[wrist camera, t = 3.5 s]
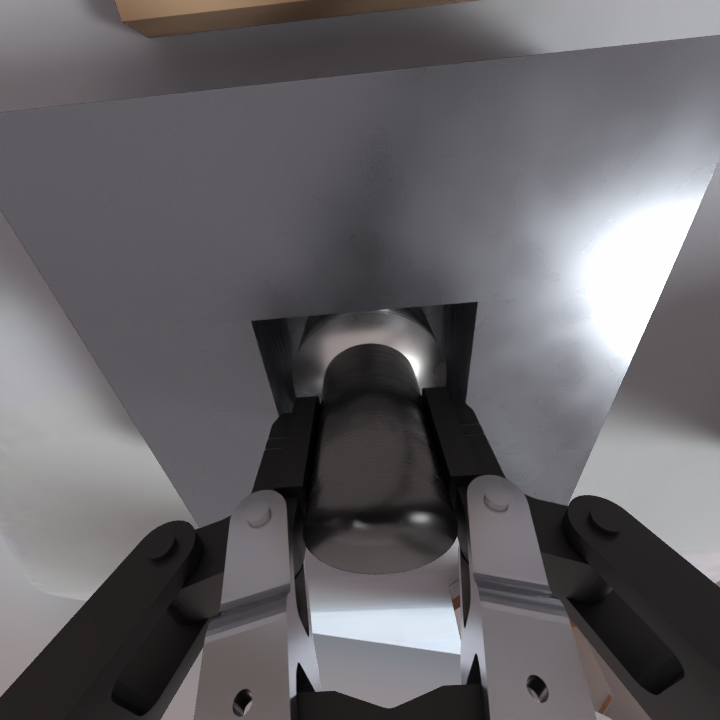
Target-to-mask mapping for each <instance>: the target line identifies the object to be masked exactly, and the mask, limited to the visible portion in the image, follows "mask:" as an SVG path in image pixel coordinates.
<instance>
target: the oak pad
mask: <svg viewBox="0 0 720 720" xmlns="http://www.w3.org/2000/svg"><path fill="white" fill-rule="evenodd" d="M467 1H476V0H115V3H116V6H117V9H118V12H119V15H120V18H121V21H122V22H123V23H125V24H127V25H128V26H130V27H132V28H134V29H135V30H137V31H139V32H140V33H142V34H144V35H145V36H147V37H149V38H150V37H159V36H168V35H177V34H185V33H194V32H203V31H212V30H221V29H229V28H238V27H247V26H256V25H265V24H274V23H282V22H291V21H300V20H309V19H318V18H326V17H335V16H344V15H353V14H362V13H370V12H379V11H388V10H397V9H406V8H415V7H423V6H432V5H441V4H450V3H459V2H467Z"/></svg>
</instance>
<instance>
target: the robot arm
mask: <svg viewBox="0 0 720 720" xmlns="http://www.w3.org/2000/svg"><path fill="white" fill-rule="evenodd" d="M422 400H423V403H424V407H425V410H426V414H427V417H428V421H429V424H430V428H431V431H432V435H433V438H434V442H435V445H436V449H437V452H438V456H439V459H440V463H441V467H442V470H443V474H444V477H445V481H446V484H447V488H448V491H449V494H450V498H451V502H452V505H453V509H454V512H455V516H456V519H457V523H458V534H457V537H458V541H459V547H458V563H459V586H460V609H461V685H450V686H442V687H439V688H437V689H435V690H433V691H430V692H428V693H426V694H424V695H422V696H419V697H417V698H415V699H413V700H411V701H408V702H406V703H404V704H401V705H399V706H397V707H395V708H389V709H387V708H383V707H380V706H377V705H374V704H371V703H368V702H365V701H362V700H359V699H356V698H353V697H350V696H347V695H344V694H342V693H338V692H336V691H325V692H321V688H320V678H319V671H318V664H317V658H316V653H315V648H314V643H313V636H312V625H311V614H310V603H309V593H308V582H307V571H306V561H305V549H306V545H305V543H304V540H303V526H304V519H305V512H306V504H307V498H308V490H309V483H310V476H311V468H312V461H313V454H314V446H315V439H316V432H317V424H318V417H319V410H320V400H319V397H318V396H307V397H296V399H295V402H294V407H293V411H292V413H282V414H281V415H280V416H279V417H278V418H277V420H276V421H275V422H274V423H273V424H272V427H271V430H270V433H269V437H268V440H267V443H266V447H265V450H264V453H263V456H262V460H261V463H260V466H259V469H258V473H257V476H256V479H255V483H254V486H253V489H252V492H251V494H250V495H249V496H247V497H245V498H244V499H243V500H242V501H241V502H240V503H239V504H238V505H237V506H236V508H235V509H234V511H233V513H232V515H231V516H229V517H227V518H225V519H223V520H220V521H218V522H215V523H212V524H209V525H207V526H204V527H201V528H199V529H196V530H194V528H193V526H192V525H191V524H190V523H188V522H185V521H172V522H168V523H166V524H163V525H161V526H159V527H157V528H156V529H154V530H153V531H152V532H150V533H149V534H148V535H147V536H146V537H145V538H144V539H143V540H142V541H141V542H140V543H139V544H138V545H137V546H136V548H135V549H134V550H133V551H132V552H131V553H130V554H129V555H128V556H127V557H126V559H125V560H124V561H123V562H122V563H121V564H120V565H119V566H118V567H117V569H116V570H115V571H114V572H113V573H112V574H111V575H110V576H109V577H108V579H107V580H106V581H105V582H104V583H103V584H102V585H101V586H100V587H99V589H98V590H97V591H96V592H95V593H94V594H93V595H92V596H91V597H90V599H89V600H88V601H87V602H86V603H85V604H84V605H83V606H82V608H81V609H80V610H79V611H78V612H77V613H76V614H75V615H74V617H72V618H71V620H70V621H69V622H68V623H67V624H66V625H65V626H64V628H62V630H61V631H60V632H59V633H58V634H57V635H56V636H55V637H54V638H53V640H52V641H51V642H50V643H49V644H48V645H47V646H46V647H45V648H44V650H43V651H42V652H41V653H40V654H39V655H38V656H37V657H36V658H35V660H34V661H33V662H32V663H31V664H30V665H29V666H28V667H27V668H26V669H25V671H24V672H23V673H22V674H21V675H20V676H19V677H18V679H16V681H15V682H14V683H13V684H12V685H11V686H10V687H9V688H8V690H7V691H6V692H5V693H4V694H3V695H2V696H1V697H0V720H160V719H161V718H162V716H163V714H164V713H165V711H166V709H167V708H168V705H169V704H170V702H171V701H172V699H173V697H174V695H175V694H176V692H177V691H178V689H179V687H180V685H181V684H182V682H183V680H184V679H185V677H186V675H187V674H188V672H189V670H190V668H191V667H192V665H193V663H194V662H195V660H196V658H197V657H198V655H199V653H200V651H201V650H202V648H203V655H202V662H201V670H200V677H199V684H198V692H197V699H196V706H195V714H194V720H597V719H596V715H595V712H594V708H593V704H592V701H591V697H590V693H589V690H588V686H587V683H586V679H585V675H584V672H583V668H582V664H581V661H580V657H579V653H578V650H577V646H576V642H575V639H574V635H573V632H572V628H571V624H570V621H569V618H570V619H571V620H572V621H573V623H574V624H575V625H576V626H577V628H578V629H579V630H580V631H581V633H582V634H583V635H584V636H585V638H586V639H587V640H588V641H589V643H590V644H591V645H592V646H593V648H594V649H595V650H596V651H597V653H598V654H599V655H600V656H601V658H602V659H603V660H604V661H605V662H606V664H607V665H608V666H609V667H610V669H611V670H612V671H613V672H614V674H615V675H616V676H617V677H618V679H619V680H620V681H621V682H622V684H623V685H624V686H625V687H626V689H627V690H628V691H629V692H630V694H631V695H632V696H633V697H634V699H635V700H636V701H637V702H638V704H639V705H640V706H641V707H642V709H643V710H644V711H645V712H646V714H647V715H648V716H649V717H650V719H651V720H720V588H719V587H718V586H717V585H716V584H715V583H714V582H712V581H711V580H710V579H709V578H707V577H706V576H705V575H704V574H703V573H701V572H700V571H699V570H698V569H696V568H695V567H694V566H693V565H691V564H690V563H689V562H688V561H687V560H685V559H684V558H683V557H682V556H680V555H679V554H678V553H677V552H676V551H674V550H673V549H672V548H671V547H669V546H668V545H667V544H666V543H665V542H663V541H662V540H661V539H660V538H658V537H657V536H656V535H655V534H654V533H652V532H651V531H650V530H649V529H647V528H646V527H645V526H644V525H643V524H641V523H640V522H639V521H638V520H636V519H635V518H634V517H633V516H632V515H630V514H629V513H628V512H627V511H625V510H624V509H623V508H621V507H620V506H618V505H617V504H615V503H613V502H611V501H609V500H607V499H604V498H601V497H597V496H591V495H583V496H579V497H576V498H574V499H573V500H572V501H571V502H570V503H569V506H566V505H562V504H557V503H552V502H548V501H543V500H539V499H536V498H533V497H530V496H528V495H526V494H524V493H523V492H522V491H521V489H520V488H519V487H518V486H517V485H515V484H514V483H513V482H511V481H509V480H508V479H507V478H506V477H505V475H504V473H503V471H502V469H501V467H500V465H499V463H498V461H497V459H496V456H495V454H494V452H493V450H492V448H491V446H490V444H489V442H488V440H487V438H486V435H484V431H483V429H482V427H481V425H480V424H479V421H478V419H477V416H476V414H475V412H474V410H473V409H472V408H471V407H469V406H468V405H467V404H466V403H465V402H464V401H463V400H457V401H451V400H450V397H449V395H448V392H447V390H446V388H445V386H441V387H428V388H422ZM568 616H569V618H568ZM203 646H204V647H203ZM538 701H540V702H538ZM244 710H245V711H246V712H247V713H246V714H245V715H244V716H243V714H244Z"/></svg>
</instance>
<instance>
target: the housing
mask: <svg viewBox="0 0 720 720" xmlns="http://www.w3.org/2000/svg"><path fill="white" fill-rule="evenodd" d="M719 159H720V35H714V36H705V37H696V38H687V39H677V40H668V41H659V42H649V43H640V44H631V45H622V46H612V47H603V48H594V49H584V50H575V51H566V52H556V53H547V54H538V55H529V56H519V57H510V58H501V59H491V60H482V61H473V62H464V63H454V64H445V65H436V66H426V67H417V68H408V69H398V70H389V71H380V72H371V73H361V74H352V75H343V76H333V77H324V78H315V79H306V80H296V81H287V82H278V83H268V84H259V85H250V86H240V87H231V88H222V89H213V90H203V91H194V92H185V93H175V94H166V95H157V96H148V97H138V98H129V99H120V100H110V101H101V102H92V103H82V104H73V105H64V106H55V107H45V108H36V109H27V110H17V111H8V112H0V210H1V211H2V213H3V214H4V216H5V218H6V219H7V221H8V222H9V224H10V226H11V227H12V229H13V230H14V232H15V234H16V235H17V237H18V238H19V240H20V242H21V243H22V245H23V246H24V248H25V250H26V251H27V253H28V254H29V256H30V258H31V259H32V261H33V262H34V264H35V266H36V267H37V269H38V270H39V272H40V274H41V275H42V277H43V278H44V280H45V281H46V283H47V285H48V286H49V288H50V289H51V291H52V293H53V294H54V296H55V297H56V299H57V301H58V302H59V304H60V305H61V307H62V309H63V310H64V312H65V313H66V315H67V317H68V318H69V320H70V321H71V323H72V325H73V326H74V328H75V329H76V331H77V333H78V334H79V336H80V337H81V339H82V341H83V342H84V344H85V345H86V347H87V349H88V350H89V352H90V353H91V355H92V357H93V358H94V360H95V361H96V363H97V365H98V366H99V368H100V369H101V371H102V373H103V374H104V376H105V377H106V379H107V381H108V382H109V384H110V385H111V387H112V389H113V390H114V392H115V393H116V395H117V397H118V398H119V400H120V401H121V403H122V405H123V406H124V408H125V409H126V411H127V412H128V414H129V416H130V417H131V419H132V420H133V422H134V424H135V425H136V427H137V428H138V430H139V432H140V433H141V435H142V436H143V438H144V440H145V441H146V443H147V444H148V446H149V448H150V449H151V451H152V452H153V454H154V456H155V457H156V459H157V460H158V462H159V464H160V465H161V467H162V468H163V470H164V472H165V473H166V475H167V476H168V478H169V480H170V481H171V483H172V484H173V486H174V488H175V489H176V491H177V492H178V494H179V496H180V497H181V499H182V500H183V502H184V504H185V505H186V507H187V508H188V510H189V512H190V513H191V515H192V516H193V518H194V520H195V521H196V523H197V524H198V526H199V528H201V527H204V526H207V525H209V524H212V523H215V522H218V521H220V520H223V519H225V518H227V517H229V516H231V515H232V513H233V511H234V509H235V508H236V506H237V505H238V504H239V503H240V502H241V501H242V500H243V499H244V498H245V497H247V496H249V495H250V494H251V492H252V489H253V486H254V483H255V479H256V476H257V473H258V469H259V466H260V463H261V460H262V456H263V453H264V450H265V447H266V443H267V440H268V437H269V433H270V430H271V427H272V424H273V423H274V422H275V421H276V420H277V418H278V417H279V416H280V415H281V414H282V413H292V411H293V407H294V402H295V399H296V394H295V391H294V387H293V368H294V363H295V359H296V356H297V353H298V349H299V346H300V342H301V339H302V335H303V332H304V328H305V325H306V322H307V320H308V318H309V316H314V315H326V314H338V313H349V312H361V311H373V310H385V309H397V308H409V307H420V308H421V310H422V311H423V313H424V314H425V316H426V318H427V320H428V323H429V325H430V327H431V329H432V331H433V334H434V336H435V338H436V340H437V342H438V345H439V347H440V349H441V351H442V354H443V356H444V359H445V363H446V372H447V378H446V384H445V388H446V390H447V392H448V395H449V397H450V400H451V401H457V400H463V401H464V402H465V403H466V404H467V405H468V406H469V407H471V408H472V409H473V410H474V412H475V414H476V416H477V419H478V421H479V424H480V425H481V427H482V429H483V431H484V435H486V438H487V440H488V442H489V444H490V446H491V448H492V450H493V452H494V454H495V456H496V459H497V461H498V463H499V465H500V467H501V469H502V471H503V473H504V475H505V477H506V478H507V479H508V480H509V481H511V482H513V483H514V484H515V485H517V486H518V487H519V488H520V489H521V491H522V492H523V493H524V494H526V495H528V496H530V497H533V498H536V499H539V500H543V501H548V502H552V503H557V504H562V505H566V506H567V505H568V503H569V501H570V499H571V496H572V494H573V492H574V489H575V487H576V485H577V483H578V480H579V478H580V476H581V474H582V471H583V469H584V467H585V464H586V462H587V460H588V458H589V455H590V453H591V451H592V448H593V446H594V444H595V442H596V439H597V437H598V435H599V433H600V430H601V428H602V426H603V423H604V421H605V419H606V417H607V414H608V412H609V410H610V407H611V405H612V403H613V401H614V398H615V396H616V394H617V392H618V389H619V387H620V385H621V382H622V380H623V378H624V376H625V373H626V371H627V369H628V366H629V364H630V362H631V360H632V357H633V355H634V353H635V351H636V348H637V346H638V344H639V341H640V339H641V337H642V335H643V332H644V330H645V328H646V325H647V323H648V321H649V319H650V316H651V314H652V312H653V310H654V307H655V305H656V303H657V300H658V298H659V296H660V294H661V291H662V289H663V287H664V284H665V282H666V280H667V278H668V275H669V273H670V271H671V269H672V266H673V264H674V262H675V259H676V257H677V255H678V253H679V250H680V248H681V246H682V243H683V241H684V239H685V237H686V234H687V232H688V230H689V228H690V225H691V223H692V221H693V218H694V216H695V214H696V212H697V209H698V207H699V205H700V202H701V200H702V198H703V196H704V193H705V191H706V189H707V187H708V184H709V182H710V180H711V177H712V175H713V173H714V171H715V168H716V166H717V164H718V162H719Z"/></svg>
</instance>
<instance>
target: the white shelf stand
mask: <svg viewBox="0 0 720 720" xmlns="http://www.w3.org/2000/svg"><path fill="white" fill-rule="evenodd" d="M449 589H450V594H451V598H452V603H453V607H454V612H455V616H456V621H457V625H458V630H459V634H460V639H461V609H460V586H459V580H458V581H456V582H455V583H454V584H452V585H451V586H449ZM568 618H569V616H568ZM569 621H570V624H571V628H572V632H573V635H574V639H575V642H576V646H577V650H578V653H579V657H580V661H581V664H582V668H583V672H584V675H585V679H586V683H587V686H588V690H589V693H590V697H591V701H592V704H593V708H594V712H595V715H596V719H597V720H651V719H650V717H649V716H648V715H647V714H646V712H645V711H644V710H643V709H642V707H641V706H640V705H639V704H638V702H637V701H636V700H635V699H634V697H633V696H632V695H631V694H630V692H629V691H628V690H627V689H626V687H625V686H624V685H623V684H622V682H621V681H620V680H619V679H618V677H617V676H616V675H615V674H614V672H613V671H612V670H611V669H610V667H609V666H608V665H607V664H606V662H605V661H604V660H603V659H602V658H601V656H600V655H599V654H598V653H597V651H596V650H595V649H594V648H593V646H592V645H591V644H590V643H589V641H588V640H587V639H586V638H585V636H584V635H583V634H582V633H581V631H580V630H579V629H578V628H577V626H576V625H575V624H574V623H573V621H572V620H571V619H570V618H569ZM538 702H540V701H538Z"/></svg>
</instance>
